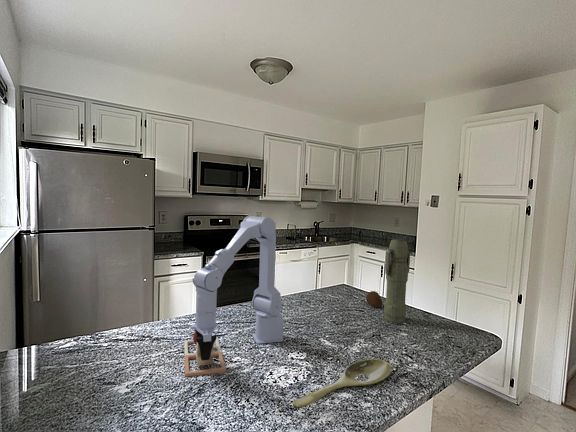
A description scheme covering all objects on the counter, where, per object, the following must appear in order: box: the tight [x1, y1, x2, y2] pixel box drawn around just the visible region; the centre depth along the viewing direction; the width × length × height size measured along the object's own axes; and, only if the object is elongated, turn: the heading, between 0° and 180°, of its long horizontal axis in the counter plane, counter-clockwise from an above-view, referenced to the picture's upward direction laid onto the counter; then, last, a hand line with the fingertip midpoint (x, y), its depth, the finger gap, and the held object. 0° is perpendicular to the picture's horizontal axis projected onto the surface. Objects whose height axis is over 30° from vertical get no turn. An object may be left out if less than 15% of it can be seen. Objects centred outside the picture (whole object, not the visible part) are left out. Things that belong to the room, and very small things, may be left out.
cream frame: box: [183, 337, 222, 356], centre depth 107 cm, size 11×11×1 cm
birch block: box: [195, 343, 215, 366], centre depth 97 cm, size 4×4×6 cm
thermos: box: [383, 238, 411, 325], centre depth 141 cm, size 9×12×35 cm
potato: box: [365, 290, 383, 308], centre depth 161 cm, size 7×10×7 cm
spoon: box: [293, 358, 392, 408], centre depth 89 cm, size 35×11×2 cm, turn 126°
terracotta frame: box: [184, 351, 227, 378], centre depth 97 cm, size 11×11×1 cm
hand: (204, 355), depth 97 cm, fingers closed on birch block, 4 cm apart
